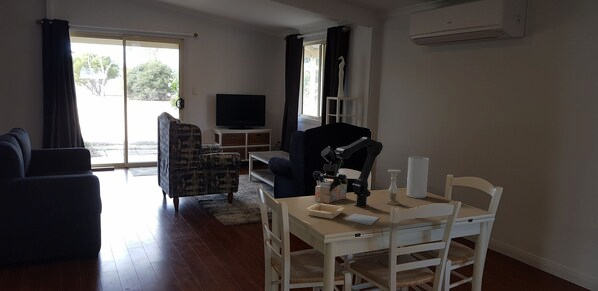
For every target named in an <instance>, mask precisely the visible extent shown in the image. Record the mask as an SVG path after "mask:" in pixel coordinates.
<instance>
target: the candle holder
mask: <svg viewBox="0 0 598 291" xmlns="http://www.w3.org/2000/svg"><path fill="white" fill-rule="evenodd" d="M387 172H388V173H390V175H391V176H390V179H391V181H390V183H391V184H390V186H389V188H388V197H389V198H387V199H386V200H385V201H384V204H387V205H391V206H398V205H401V202H400V201H399V199H398V198H397V196H398V195H397V194H398V192H399V190H398V187H397V180H398V178H397V176H398V174H399V173H401V172H402V171H401V169H398V168H397V169H396V168H390V169H388V170H387Z"/></svg>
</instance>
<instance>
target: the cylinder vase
mask: <svg viewBox="0 0 598 291" xmlns="http://www.w3.org/2000/svg"><path fill="white" fill-rule="evenodd" d="M429 161H430V158H428V157H423V156H409V157H408V164H407V179H406V180H407V181H406V182H407V183H406V196H407V197H409V198H413V199H425V198H426V197H427V194H428V193H427V192H428V190H427V189H428V176H429V175H428V174H429Z"/></svg>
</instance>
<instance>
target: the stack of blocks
mask: <svg viewBox="0 0 598 291" xmlns="http://www.w3.org/2000/svg"><path fill="white" fill-rule="evenodd" d="M325 182H332V183H333V180H331V179H326V181H325ZM347 188H348V183H347V184H341V185H338V186H337V187H336V188H334V189H333V193H332V201H331V202H333V201H334V202H335V201H339V200H344V199H347ZM314 192H315V194H314V202H318V203H322V204H324V202H320V184H319V185H316V186H315V191H314Z"/></svg>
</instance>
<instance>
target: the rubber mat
mask: <svg viewBox="0 0 598 291" xmlns="http://www.w3.org/2000/svg"><path fill="white" fill-rule="evenodd" d="M379 219H380V217H378V216H372V215H365V214H359V213H352V214H351V215H349V216H348V217H346V218H344V221H348V222H349V221H350V222H354V223H357V224H362V225H368V226H371V225H373V224H374V223H376V222H377V221H378V220H379Z"/></svg>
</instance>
